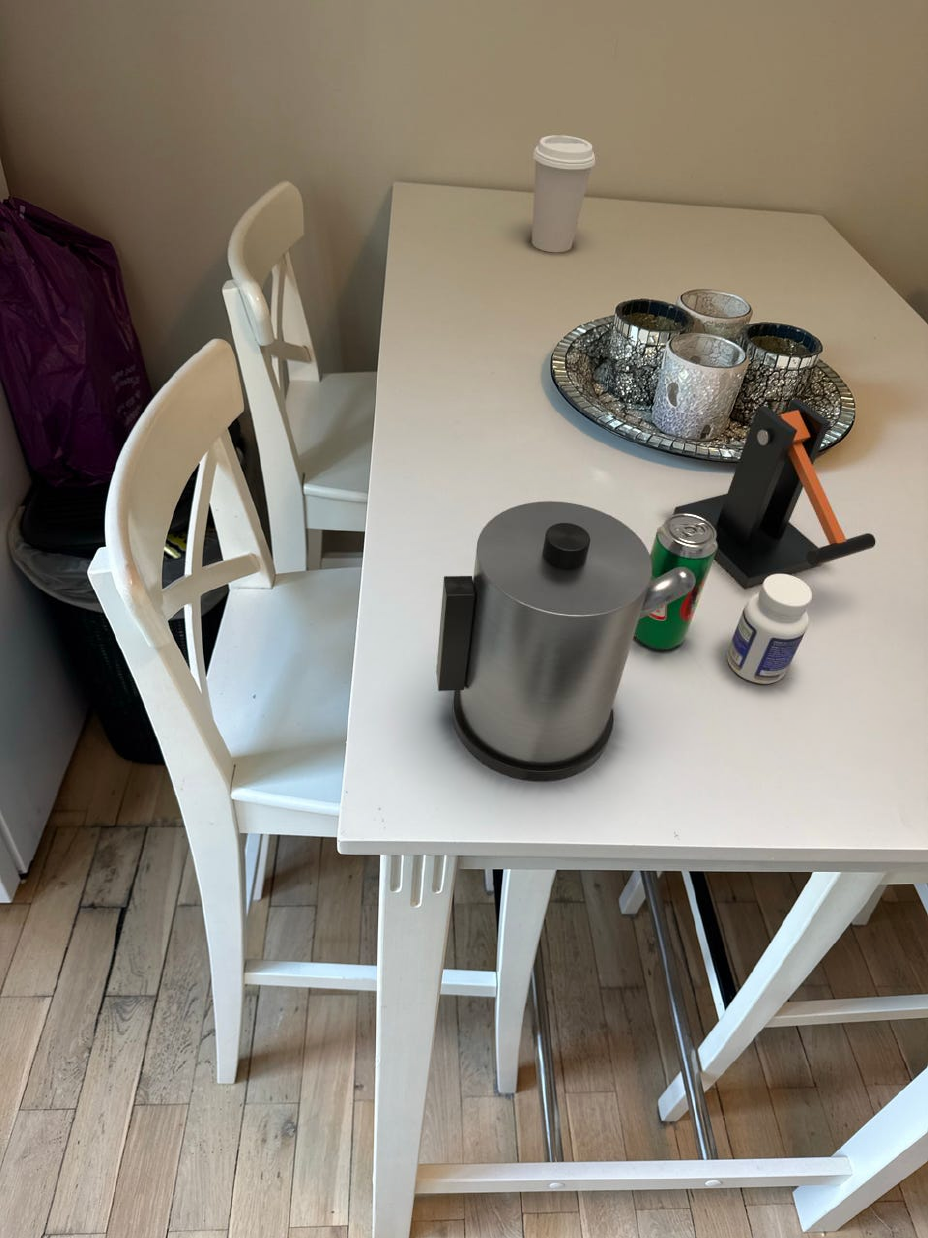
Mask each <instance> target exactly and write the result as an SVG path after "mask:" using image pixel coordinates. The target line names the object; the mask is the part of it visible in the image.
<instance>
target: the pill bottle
mask: <svg viewBox="0 0 928 1238" xmlns="http://www.w3.org/2000/svg"><path fill="white" fill-rule="evenodd" d="M761 584H762V585H761V586H760V589H759V591H758V593H755V594H754V595H752V596H750V597H749V599H748V600H747V602H746V603H745V606H744V608H743V610H742V613H741V615H740V618H739V620H738V623H737V624H736V628H735V629H734V633H733V635H732V638H731V641H730V642H729V645H728V648H727V650H726V651H727V652H726V658H727V662H728V665H729V666H730V668H731V669H732V670H733V671H734V672H735V673H736V674H737V675H738V676H740V678H743V679H745V680H747V681H750V682H752V683H756V684H762V685H765V684H766V685H767V684H773V683H776V682H778V681H780V680H781V679H783V678H784V676H785V675H786V674H787V672H788V669H789V667H790V666H791V663H792V662H793V659H794V656H795V655H796V653H797V650H798V649H799V646H800V644H801V643H802V640H803V638H804V636H805V634H806V632H807V630H808V627H809V623H810V618H809V614H808V611H807V610H808V609H809V606H810V604H811V602H812V598H813V594H812V593H813V592H812V590H811V588H810V587H809V586H808V584H807V583H806V582H804V581H803V580H802V579H800V578H798V577H797V576H794V575H792V574H789V575H787V574H773V575H770V576H769V577H767V578H766V579H765V580H764V582H763V583H761Z"/></svg>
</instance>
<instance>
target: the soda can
mask: <svg viewBox="0 0 928 1238" xmlns="http://www.w3.org/2000/svg"><path fill="white" fill-rule="evenodd" d="M716 537H717V534H716V530H715V528H714V527H713V526H712V524H711V523H709V522H708V521H707V520H705V519H703V518H701V517H699V516H696V515H692V514H675V515H673V514H672V515H669V516H668V517H667V518H666V519H665V520H664V522H663V524H661V525H660V526H659V527H658V528H657V530H656V533H655V537H654V539H653V542H652V547H651V550H650V552H649V554H650V558H651V561H652V577H651V580H650V582H651V581H653V580H654V579H656V578H658V577H660V576H662V575H664V574H665V573H667V572H669V571H671V570H673V569H674V568H677V567H685V568H688V569H690V570H691V571H692V572H693V574H694V576H695V586H694V588H693V589H692V590H691V591H690V592H689V593H687V594H685V595H684V596H682V597H680V598H678V599H676V600H674V601H672V602H671V603H669V604H667V605H665V606H663V607H661V608H659V609H658V610H656V611H654V612H652V613H650V614H648V615H646V616H645V617H643V618H641V619H639V620H638V623H637V627H636V630H635V633H634V637H635V638H636V639H637V640H638V641H639V642H640V643H641V644H643V645H645V646H647V647H649V648H652V649H655V650H668V649H669V650H670V649H673V648H676V647H678V646H680V645H681V644H683V643H684V641H685V640H686V637H687V634H688V631H689V629H690V626H691V623H692V621H693V618H694V616H695V612H696V610H697V607H698V604H699V601H700V598H701V595H702V593H703V590H704V587H705V585H706V582H707V579H708V576H709V573H710V571H711V567H712V566H713V565H712V564H713V562H714V560H715V559H714V557H715V554H716V551H717V548H718V544H717V540H716Z"/></svg>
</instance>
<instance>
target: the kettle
mask: <svg viewBox="0 0 928 1238" xmlns="http://www.w3.org/2000/svg"><path fill="white" fill-rule="evenodd" d="M475 549H476V550H475V557H474V558H475V559H474V566H473V567H474V568H473V576H472V575H444V576H443V584H442V597H441V606H440V607H441V609H440V621H439V635H438V645H437V658H436V671H435V672H436V673H435V675H436V682H437V683H436V684H437V691H438V692H452V691H453V699H452V721H453V726H454V728H455V731H456V733H457V736H458V737H459V739H460V741H461V742H462V743H463V745H464V746H465V748H466V749H467V750H468V751H469V752H470V753H471V755H473V757H475V758H476V759H478V760H479V762H481V763H482V764H484V765H485V766H487V767H489V768H490V769H492V770H494V771H496V772H498V773H500V774H503V775H505V776H509V777H511V778H515V779H519V780H525V781H532V782H533V781H534V782H547V781H558V780H561V779H566V778H569V777H572V776H574V775H576V774H579V773H581V772H583V771H585V770H586V769H588V768H589V767H590V766H592V765H593V764H594V763H595V762H596V761H597V760H599V758H600V757H601V755H602V754H603V753H604V752H605V751H606V748H607V746H608V744H609V741H610V738H611V735H612V733H613V728H614V721H615V719H614V709H613V706H614V702H615V699H616V696H617V692H618V689H619V686H620V684H621V679H622V677H623V674H624V673H623V672H624V671H625V667H626V664H627V663H626V662H627V661H628V660H627V659H628V656H629V653H630V649H631V646H632V643H633V640H634V637H635V635H634V633H635V630H636V627H637V623H638V620H639V619H641V618H643V617H645V616H646V615H648V614H650V613H652V612H654V611H656V610H658V609H659V608H661V607H663V606H665V605H667V604H669V603H671V602H672V601H674V600H676V599H678V598H680V597H682V596H684V595H685V594H687V593H689V592H690V591H691V590H692V589H693V588H694V586H695V576H694V574H693V572H692V571H691V570H690V569H688V568H685V567H677V568H674V569H673V570H671V571H669V572H667V573H665V574H664V575H662V576H660V577H658V578H656V579H654V580H653V581H651V582H650V580H651V577H652V561H651V558H650V552H649V550H648V548H647V546H646V545H645V543H644V541H643V540H642V539H641V538H640V536H638V535H637V533H636V532H634V530H633V529H631V528H630V527H629V526H628V525H626V523H623V522H622V521H621V520H619V519H617V518H616V517H613V516H612V515H610V514H608V513H605V512H604V511H601V510H599V509H596V508H593V507H590V506H587V505H582V504H578V503H574V502H566V501H555V500H554V501H553V500H551V501H550V500H546V501H534V502H527V503H523V504H518V505H516V506H513V507H510V508H508V509H505V510H503V511H501V512H500V513H498V514H496V515H495V516H494V517H493V518H491V519H490V520H489V521H488V522H487V523H486V525H485V526H484V527H483V528H482V530H481V531H480V533H479V535H478V539H477V543H476V548H475Z"/></svg>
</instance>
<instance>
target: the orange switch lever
mask: <svg viewBox="0 0 928 1238" xmlns="http://www.w3.org/2000/svg"><path fill="white" fill-rule="evenodd" d="M778 416H780V417H781V418H782V419H784V420H785V421H786V422H787V423H789V424H790V425H791V426H793V427H794V428H795V429H796V430H797V433H796V435H795V438H794V440H793V443H792V445H791V448H790V450H789V453H788V454H789V456H790V458H791V460H792V462H793V465H794V467H795V469H796V471H797V473H798V476H799V478H800V480H801V482H802V484H803V489H804V491H805V493H806V495H807V497H808V500H809V503H810V504H811V506H812V507H811V508H812V509H813V512H814V514H815V516H816V518H817V520H818V523H819V524H820V526H821V529H822V531H823V532H824V535H825V537H826V539H827V542H828V544H827V545H824V546H820V547H818V548H817V549H814V550H810V551H809V552H808V553H807V555H806V558H807V562H808V563H809V564H810V565H811V566H815V567H818V566H821V565H823V564H826V563H829V562H833V561H835V560H839V559H843V558H845V557H848V556H851V555H856V554H857V553H858V554H859V553H861V552H864V551H867V550H871V549H873V548H874V547H875V545H876V538H875V536H874V535H873V534H872V533H869V532H866V533H863V534H860V535H855V536H852V537H850V538H846V537H845V535H844V531H843V530H842V527H841V525H840V524H839V522H838V519H837V516H836V514H835V511H834V510H833V508H832V506H831V503H830V501H829V499H828V496H827V495H826V493H825V492H826V491H824V488H823V486H822V484H821V482H820V479H819V477H818V475H817V473H816V471H815V468H814V466H813V465H812V464H811V462H810V460H809V458H808V455H807V453H806V451H805V449H804V447H803V444H802V443H803V442H804V441H805V440H807V439H808V438H810V434H809V432H808V430H807V428H806V426H805V423H804V421H803V419H802V417H801V415H800V413H799V411H798V410H797V411H792V412H788V413H786V412H785V413H780V414H778ZM820 564H821V565H820ZM817 565H818V566H817Z"/></svg>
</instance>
